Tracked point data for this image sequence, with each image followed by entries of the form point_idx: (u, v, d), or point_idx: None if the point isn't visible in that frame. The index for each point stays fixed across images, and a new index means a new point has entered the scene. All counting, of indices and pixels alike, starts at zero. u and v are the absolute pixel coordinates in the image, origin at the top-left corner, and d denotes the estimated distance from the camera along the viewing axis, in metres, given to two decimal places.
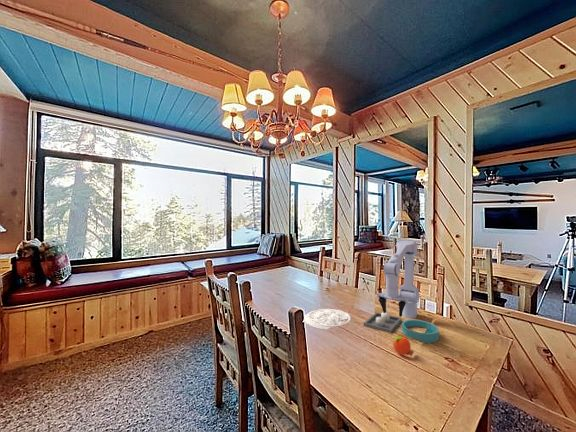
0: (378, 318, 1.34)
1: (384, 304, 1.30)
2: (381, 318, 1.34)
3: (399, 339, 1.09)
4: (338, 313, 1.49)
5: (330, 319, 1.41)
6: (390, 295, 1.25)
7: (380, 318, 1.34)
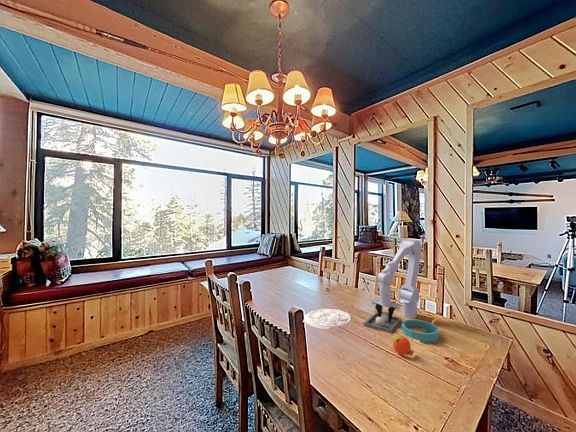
0: (378, 318, 1.34)
1: (380, 311, 1.42)
2: (381, 318, 1.34)
3: (399, 339, 1.09)
4: (338, 313, 1.49)
5: (330, 319, 1.41)
6: (383, 302, 1.39)
7: (380, 318, 1.34)
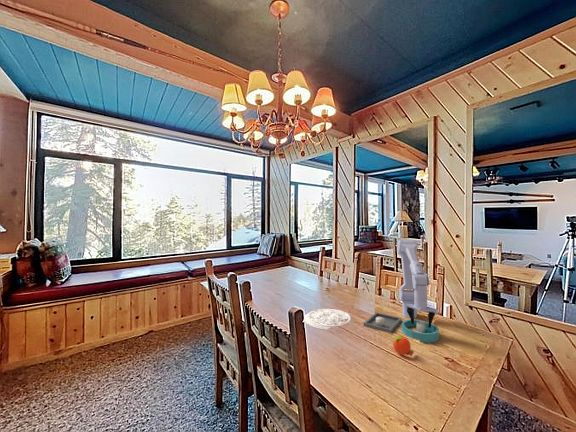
0: (378, 318, 1.34)
1: (412, 315, 1.31)
2: (381, 318, 1.34)
3: (399, 339, 1.09)
4: (338, 313, 1.49)
5: (330, 319, 1.41)
6: (419, 306, 1.26)
7: (380, 318, 1.34)
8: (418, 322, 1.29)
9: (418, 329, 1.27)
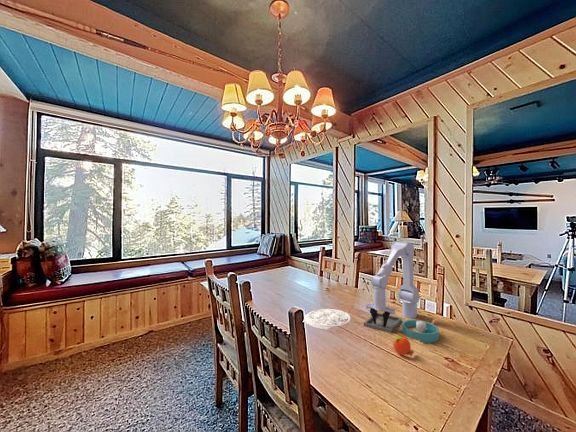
0: (378, 318, 1.34)
1: (375, 315, 1.36)
2: (381, 318, 1.34)
3: (399, 339, 1.09)
4: (338, 313, 1.49)
5: (330, 319, 1.41)
6: (378, 306, 1.32)
7: (380, 318, 1.34)
8: (418, 322, 1.29)
9: (418, 329, 1.27)
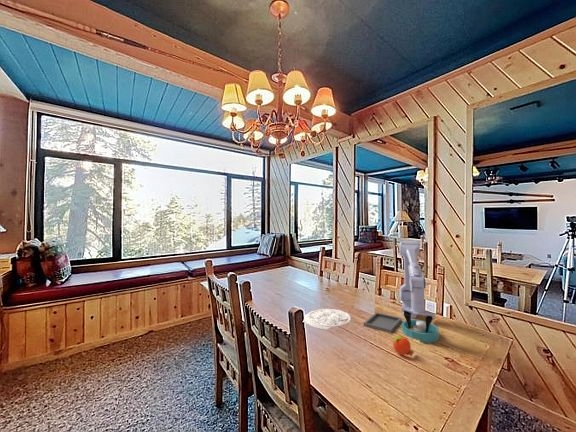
0: (416, 327, 1.24)
1: (409, 319, 1.26)
2: (419, 327, 1.24)
3: (399, 339, 1.09)
4: (338, 313, 1.49)
5: (330, 319, 1.41)
6: (416, 310, 1.22)
7: (418, 327, 1.24)
8: (418, 322, 1.29)
9: None
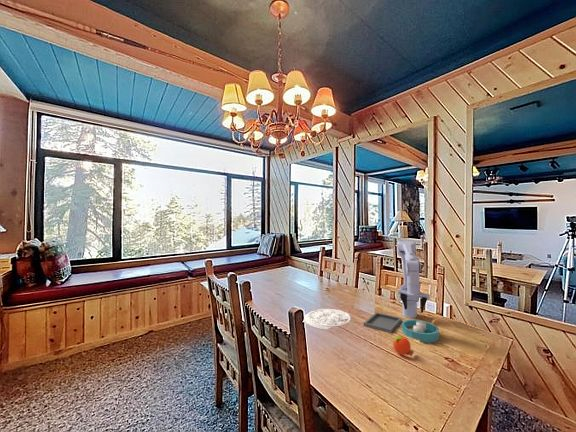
0: (416, 327, 1.24)
1: (405, 300, 1.34)
2: (419, 327, 1.24)
3: (399, 339, 1.09)
4: (338, 313, 1.49)
5: (330, 319, 1.41)
6: (412, 292, 1.29)
7: (418, 327, 1.24)
8: (418, 322, 1.29)
9: None
